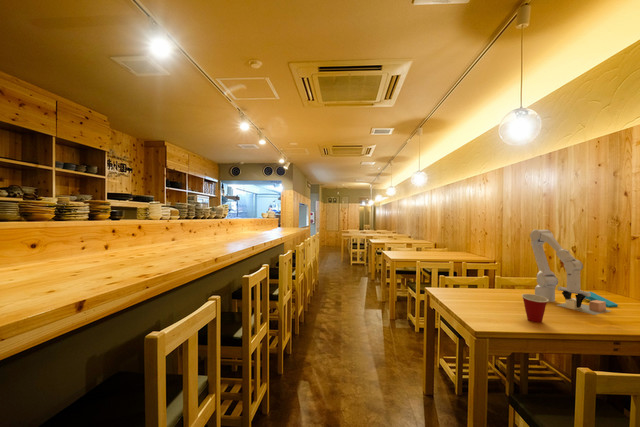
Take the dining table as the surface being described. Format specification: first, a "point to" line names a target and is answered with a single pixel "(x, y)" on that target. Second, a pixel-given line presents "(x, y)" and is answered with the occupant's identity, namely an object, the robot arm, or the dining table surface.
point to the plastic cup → (534, 307)
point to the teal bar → (597, 297)
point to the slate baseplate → (585, 309)
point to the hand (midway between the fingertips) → (573, 306)
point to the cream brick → (572, 303)
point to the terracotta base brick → (597, 305)
